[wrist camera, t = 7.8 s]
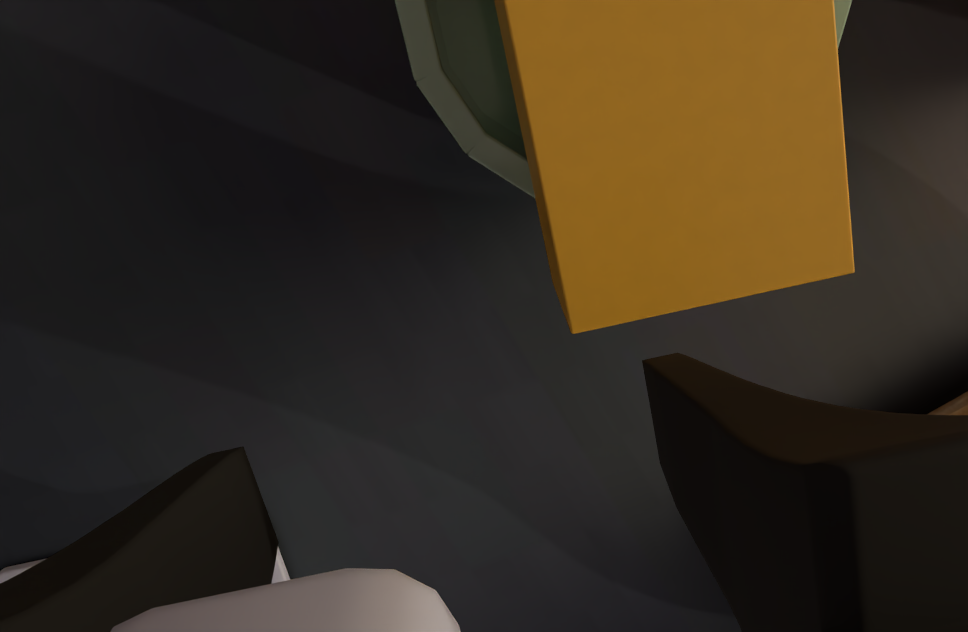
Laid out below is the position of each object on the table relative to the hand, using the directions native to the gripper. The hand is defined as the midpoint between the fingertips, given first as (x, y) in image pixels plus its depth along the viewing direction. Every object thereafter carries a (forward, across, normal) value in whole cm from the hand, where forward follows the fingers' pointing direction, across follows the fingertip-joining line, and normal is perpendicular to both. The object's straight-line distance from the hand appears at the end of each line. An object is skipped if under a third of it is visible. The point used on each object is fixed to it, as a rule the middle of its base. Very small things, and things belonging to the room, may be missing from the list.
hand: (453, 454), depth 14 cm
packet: (+4, -5, -7) cm, 9 cm away
